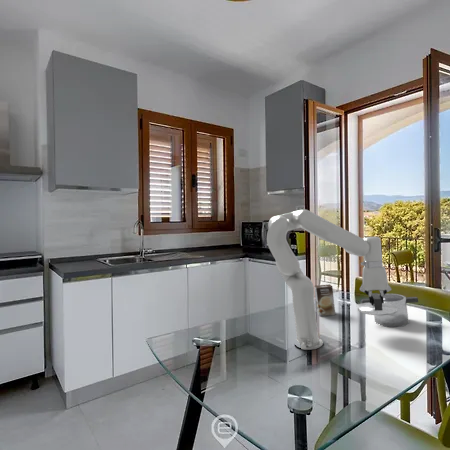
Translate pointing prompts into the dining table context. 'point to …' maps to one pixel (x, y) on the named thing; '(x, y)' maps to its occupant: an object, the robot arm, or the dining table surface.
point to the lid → (377, 307)
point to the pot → (400, 316)
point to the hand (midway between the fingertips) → (376, 304)
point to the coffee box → (324, 300)
